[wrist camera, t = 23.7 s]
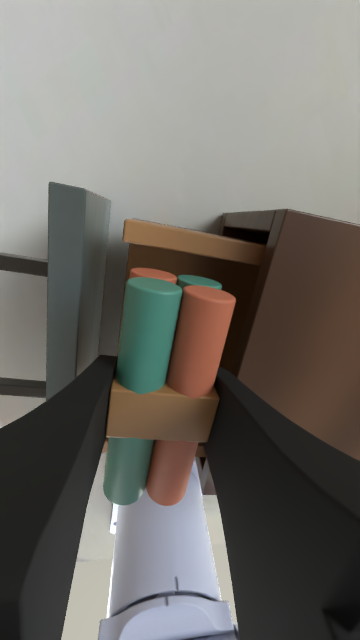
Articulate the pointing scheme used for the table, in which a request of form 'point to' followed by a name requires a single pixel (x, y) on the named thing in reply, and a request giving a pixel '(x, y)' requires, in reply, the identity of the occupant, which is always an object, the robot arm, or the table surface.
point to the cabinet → (302, 324)
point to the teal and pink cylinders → (163, 383)
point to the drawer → (144, 252)
